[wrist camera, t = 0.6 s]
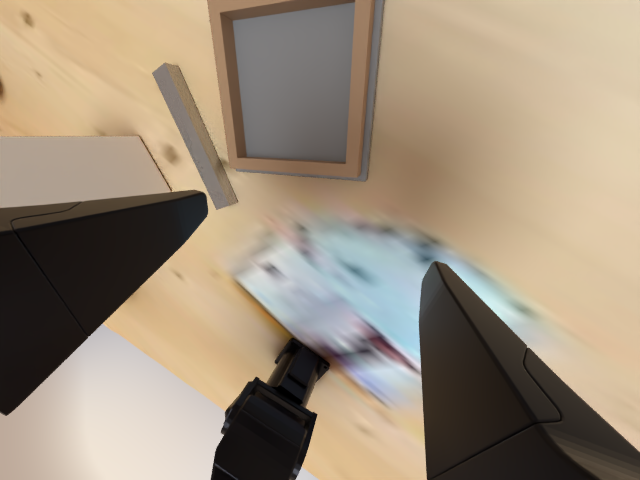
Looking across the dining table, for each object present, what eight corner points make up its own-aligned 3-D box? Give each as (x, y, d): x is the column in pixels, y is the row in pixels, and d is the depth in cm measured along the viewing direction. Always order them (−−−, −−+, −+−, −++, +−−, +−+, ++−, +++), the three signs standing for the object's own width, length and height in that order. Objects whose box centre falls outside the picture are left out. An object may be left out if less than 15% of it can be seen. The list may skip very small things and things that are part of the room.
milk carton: (112, 159, 31) (-213, 187, 15) (140, 135, 28) (-234, 135, 12) (143, 209, 33) (-119, 281, 17) (172, 191, 30) (-116, 259, 14)
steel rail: (238, 202, 27) (229, 205, 26) (225, 206, 28) (216, 209, 27) (178, 66, 23) (164, 62, 22) (166, 76, 24) (152, 73, 23)
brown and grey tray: (367, 179, 21) (362, 184, 19) (240, 170, 25) (226, 173, 23) (387, -27, 16) (383, -50, 14) (221, 3, 20) (200, -11, 18)
